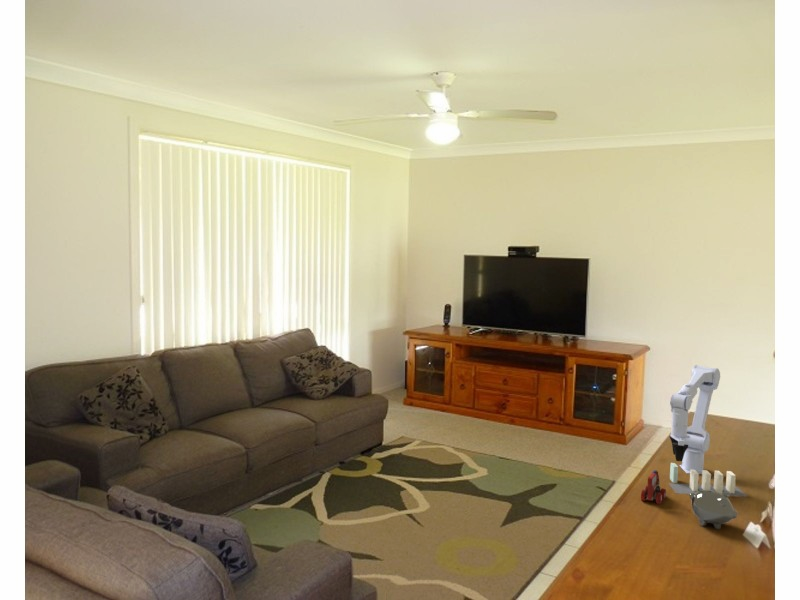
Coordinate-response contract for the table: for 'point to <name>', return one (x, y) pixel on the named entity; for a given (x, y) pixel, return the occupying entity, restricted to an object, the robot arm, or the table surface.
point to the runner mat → (687, 490)
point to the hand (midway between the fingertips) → (677, 457)
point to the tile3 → (706, 480)
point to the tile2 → (694, 480)
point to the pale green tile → (673, 472)
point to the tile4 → (718, 481)
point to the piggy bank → (712, 507)
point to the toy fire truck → (653, 489)
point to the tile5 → (730, 482)
